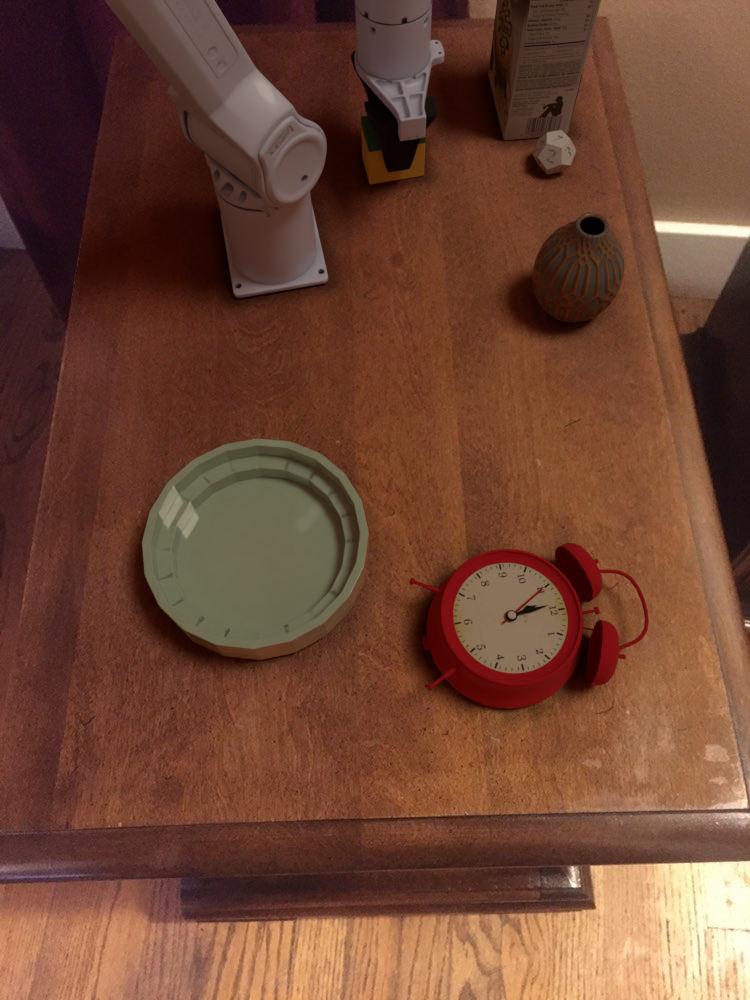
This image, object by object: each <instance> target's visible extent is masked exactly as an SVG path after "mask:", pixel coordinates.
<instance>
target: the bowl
mask: <svg viewBox="0 0 750 1000" xmlns="http://www.w3.org/2000/svg"><path fill="white" fill-rule="evenodd" d="M370 547H371V546H370V532H369V527H368V522H367V518H366V513H365V509H364V503H363V500H362V498H361V497H360V495H359V494H358V492H357V490H356V488H355V487H354V486H353V484H352V482H351V481H350V479H349V477H348V476H347V474H346V473H345V472H344V471H343V470H342V469H340V468H339V467H338V466H337V465H335V464H334V463H333V462H332V461H331V460H329V458H327V457H326V456H325V455H323V454H322V453H321V452H319V451H316V450H314V449H311V448H308V447H306V446H303V445H301V444H299V443H296V442H294V441H291V440H290V441H289V440H281V439H280V440H279V439H270V438H259V437H258V438H256V437H255V438H251V439H246V440H240V441H234V442H229V443H224V444H222V445H219V446H217V447H215V448H213V449H211V450H209V451H207V452H206V453H203V454H200V455H199V456H197V457H195V458H193V459H192V460H191V461H190V462H188V464H186V465H185V466H183V468H181V470H179V471H178V472H177V473H176V474H175V475H174V476H173V477H171V478H170V479H169V480H168V481H167V482H166V484H165V486H164V487H163V488H162V490H161V492H160V494H159V495H158V497H157V498H156V500H155V502H154V503H153V505H152V507H151V508H150V510H149V511H148V516H147V520H146V523H145V528H144V531H143V536H142V540H141V550H142V561H143V573H144V578H145V580H146V582H147V584H148V586H149V588H150V591H151V593H152V595H153V597H154V599H155V601H156V603H157V605H158V607H159V608H160V609H161V610H162V612H163V613H164V614H165V615H166V616H167V617H168V619H169V620H170V621H171V622H172V623H173V624H174V625H175V626H176V627H177V628H178V629H179V630H180V631H182V633H183V634H185V635H186V637H188V639H189V640H190V641H191V642H193V643H195V644H197V645H199V646H202V647H204V648H206V649H207V650H209V651H212V652H214V653H216V654H218V655H220V656H224V657H228V658H229V657H230V658H240V659H246V660H247V659H248V660H258V661H259V660H260V661H262V660H267V659H271V658H276V657H281V656H286V655H290V654H295V653H297V652H299V651H301V650H303V649H304V648H306V647H308V646H310V645H312V644H313V643H315V642H318V641H319V640H321V639H323V638H325V637H326V636H327V635H328V634H330V633H331V631H332V630H334V629H335V628H336V627H337V625H338V624H339V623H340V622H341V621H342V620H343V619H344V618H345V617H346V616H347V615H348V614H349V613H350V612H351V610H352V609H353V606H354V605H355V603H356V600H357V599H358V596H359V594H360V592H361V590H362V588H363V586H364V584H365V582H366V579H367V572H368V566H369V556H370V549H371V548H370Z"/></svg>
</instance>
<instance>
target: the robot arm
mask: <svg viewBox="0 0 750 1000" xmlns="http://www.w3.org/2000/svg"><path fill="white" fill-rule="evenodd" d="M103 1H104V2H105V3H106V5H107V6H108V7H109V8H110V9H111V11H112V12H113V13H114V15H115V17H117V18H118V20H119V21H120V23H122V25H123V26H124V28H125V29H126V30H127V31H128V32H129V34H130V35H131V36H132V38H133V39H134V40H135V42H137V44H138V45H139V46H140V48H141V49H142V51H143V52H144V53H145V54H146V55H147V57H148V58H149V59H150V60H151V62H152V63H153V65H154V66H155V67H156V69H158V71H159V73H161V75H162V76H163V77H164V79H166V81H167V82H168V83H169V86H168V88H167V90H166V94H167V97H169V98H170V100H171V101H172V103H173V104H174V106H175V108H176V110H177V112H178V117H179V123H180V128H181V132H182V134H183V136H184V138H185V139H186V140H187V142H189V144H190V145H192V146H194V147H196V148H197V149H199V150H201V151H203V154H204V157H205V161H206V165H207V166H208V168H209V169H210V175H211V179H212V182H213V183H212V184H213V187H214V191H215V196H216V199H217V202H218V207H219V210H220V219H221V226H222V231H223V238H224V244H225V250H226V257H227V262H228V269H229V275H230V281H231V286H232V287H231V288H232V293H233V296H234V297H235V298H237V299H242V298H247V297H253V296H261V295H266V294H271V293H278V292H283V291H288V290H289V291H290V290H295V289H301V288H307V287H311V286H312V287H313V286H318V285H324V284H326V283H327V282H328V281H329V274H328V268H327V264H326V260H325V256H324V252H323V246H322V243H321V238H320V234H319V230H318V229H319V228H318V224H317V221H316V216H315V212H314V208H313V204H312V203H313V202H312V196H311V195H312V193H311V191H312V189H314V187H315V185H317V183H318V182H319V181H318V180H319V179H320V177H321V176H322V173H323V170H324V167H325V163H326V158H327V153H328V151H327V150H328V144H327V143H328V142H327V137H326V134H325V132H324V130H323V129H322V128H321V127H320V125H319V124H317V123H316V122H314V121H312V120H310V119H308V118H305V117H303V115H301V114H299V113H298V112H297V110H296V108H295V106H294V105H293V104H292V103H291V102H290V101H289V100H288V99H287V98H286V97H285V96H284V94H282V93H281V92H280V90H279V89H278V88H276V86H274V84H273V83H271V82H270V81H269V80H268V79H267V77H266V76H265V75H264V74H263V73H262V72H261V71H260V70H259V69H258V68H257V67H256V65H255V64H254V62H253V61H252V59H251V57H250V56H249V54H248V52H247V51H246V49H245V47H244V46H243V43H241V41H240V39H239V38H238V36H237V34H236V33H235V31H234V29H233V27H231V25H230V23H229V21H228V20H227V18H226V17H225V15H224V13H223V12H222V10H221V8H220V7H219V5H218V4H217V2H216V1H215V0H103ZM354 13H355V15H354V16H355V36H356V37H355V38H356V40H355V41H356V46H355V50H353V51H352V52H351V55H350V60H351V64H352V67H353V70H354V72H355V74H356V75H357V76H358V78H359V80H360V82H361V84H362V86H363V88H364V91H365V94H366V97H367V100H365V101H364V102H363V103H364V110H365V113H366V116H367V117H368V120H369V122H370V124H371V126H372V128H373V129H374V131H375V132H376V133H377V135H378V137H379V139H380V144H381V150H382V155H383V159H384V163H385V166H386V169H387V171H388V172H395V171H401V170H407V169H410V167H411V165H412V162H413V160H414V157H415V154H416V150H417V147H418V145H419V142H420V140H421V138H424V137H425V134H426V132H427V131H426V130H427V129H428V128H429V127H430V126H431V125H432V123H433V122H434V121H435V120H436V118H437V115H438V104H437V102H436V99H435V96H434V95H429V96H427V94H428V87H429V83H430V77H431V72H432V68H433V66H436V65H440V64H443V63H444V62H445V54H446V52H445V49H444V47H443V44H442V42H441V41H440V40H438V39H431V38H432V37H431V36H432V35H431V34H432V16H433V0H354Z"/></svg>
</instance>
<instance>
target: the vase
mask: <svg viewBox="0 0 750 1000" xmlns="http://www.w3.org/2000/svg"><path fill="white" fill-rule="evenodd" d="M625 264H626V263H625V255H624V250H623V248H622V244H621V243H620V240H619V239H618V237H617V236H616V234H615V233H614V232H613V231H612V229H611V228H610V224H609V221H608V220H607V219H606V218H605V216H603V215H602V214H600V213H596V212H587V213H583V214H581V215H579V217H578V218H577V219H575V220H574V221H571V222H568V223H565V224H564V225H562V226H560V227H558V228H556V230H554V231H553V232H552V233H551V234H550V235H549V236H548V237H547V238H546V239H545V241H544V242H543V244H542V245H541V247H540V248H539V250H538V252H537V255H536V257H535V261H534V264H533V269H532V289H533V293H534V295H535V299H537V302H538V304H539V306H540V307H541V308H542V310H543V311H545V312H546V313H547V314H548V315H549V316H551V317H553V318H554V319H556V320H559V321H560V322H566V323H581V322H586V321H589V320H591V319H594V318H596V317H597V316H599V315H600V314H601V313H603V312H604V311H605V310H606V309H607V308H608V307H609V306H610V305H611V304H612V302H613V301H614V300H615V298H616V296H617V295H618V293H619V290H620V289H621V286H622V283H623V280H624V275H625Z"/></svg>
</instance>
